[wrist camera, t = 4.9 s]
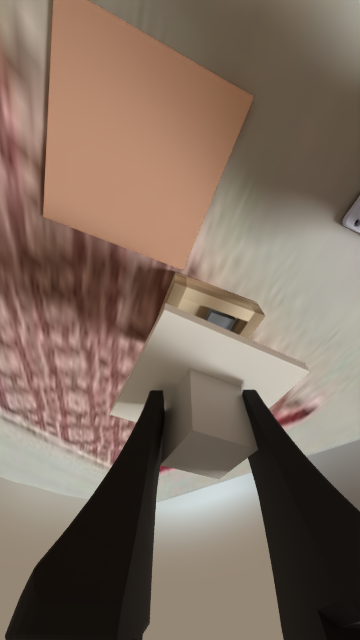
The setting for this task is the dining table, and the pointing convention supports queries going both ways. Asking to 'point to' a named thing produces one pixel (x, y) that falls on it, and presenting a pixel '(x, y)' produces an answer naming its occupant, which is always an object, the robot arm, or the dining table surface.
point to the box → (214, 305)
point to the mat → (133, 134)
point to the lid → (204, 390)
